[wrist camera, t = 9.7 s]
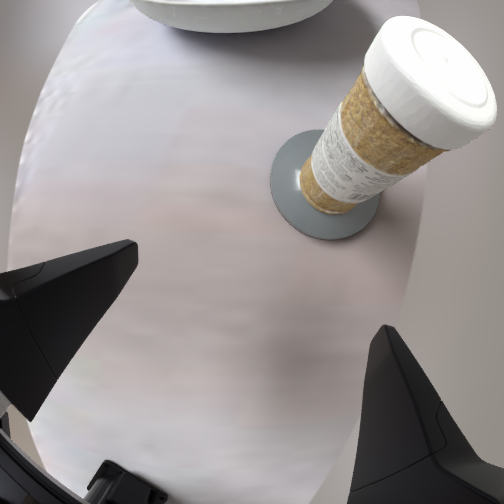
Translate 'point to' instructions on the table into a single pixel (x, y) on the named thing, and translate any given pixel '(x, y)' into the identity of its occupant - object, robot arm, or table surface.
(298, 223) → the coaster
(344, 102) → the sprinkles bottle
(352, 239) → the table surface
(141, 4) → the serving bowl
